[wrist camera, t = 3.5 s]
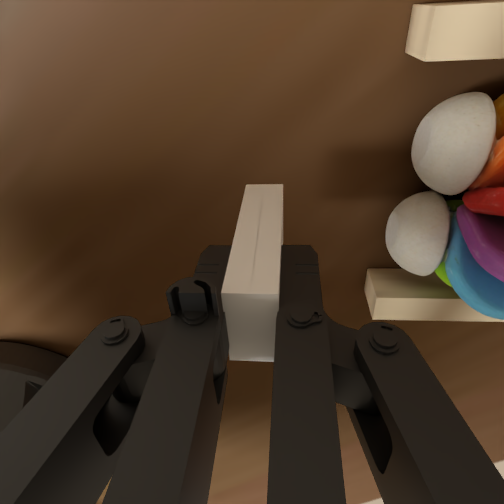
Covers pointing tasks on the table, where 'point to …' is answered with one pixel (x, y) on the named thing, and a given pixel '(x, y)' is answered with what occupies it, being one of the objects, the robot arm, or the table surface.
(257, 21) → the table surface
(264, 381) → the table surface
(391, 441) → the robot arm
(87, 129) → the table surface
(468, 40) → the channel
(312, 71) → the table surface
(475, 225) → the rainbow disc toy
